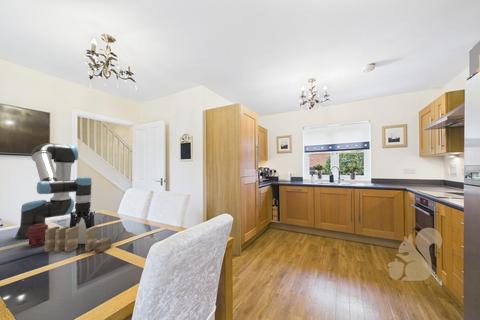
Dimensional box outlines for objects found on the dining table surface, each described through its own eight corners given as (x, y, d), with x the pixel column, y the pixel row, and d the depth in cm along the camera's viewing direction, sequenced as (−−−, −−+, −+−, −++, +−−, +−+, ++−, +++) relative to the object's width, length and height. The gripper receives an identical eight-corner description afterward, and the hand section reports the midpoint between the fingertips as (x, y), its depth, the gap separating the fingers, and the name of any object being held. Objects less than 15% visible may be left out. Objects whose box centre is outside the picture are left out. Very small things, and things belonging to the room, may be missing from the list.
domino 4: (85, 243, 116) (85, 223, 117) (75, 243, 116) (75, 223, 117) (87, 242, 118) (88, 222, 119) (78, 242, 118) (78, 222, 119)
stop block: (93, 252, 104) (94, 242, 104) (104, 246, 112) (104, 237, 112) (101, 252, 104) (101, 242, 104) (111, 246, 112) (111, 237, 112)
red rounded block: (53, 242, 118) (32, 249, 108) (40, 241, 120) (19, 248, 110) (54, 222, 118) (34, 227, 108) (42, 221, 120) (21, 226, 110)
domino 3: (64, 251, 105) (65, 229, 105) (74, 247, 110) (75, 226, 111) (68, 251, 105) (69, 229, 105) (77, 247, 111) (78, 226, 111)
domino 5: (85, 251, 105) (86, 229, 105) (93, 247, 111) (94, 226, 111) (88, 251, 105) (89, 229, 105) (96, 247, 111) (97, 226, 111)
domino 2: (54, 251, 104) (55, 229, 105) (64, 247, 110) (65, 226, 111) (58, 251, 104) (59, 229, 105) (68, 247, 110) (69, 226, 111)
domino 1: (44, 252, 104) (45, 229, 105) (55, 247, 110) (55, 226, 111) (48, 251, 104) (49, 229, 105) (58, 247, 110) (59, 226, 111)
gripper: (62, 203, 115) (60, 242, 113) (93, 202, 115) (92, 242, 114) (72, 201, 122) (71, 237, 121) (102, 200, 123) (101, 237, 121)
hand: (81, 239), depth 117 cm, fingers closed on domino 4, 6 cm apart
